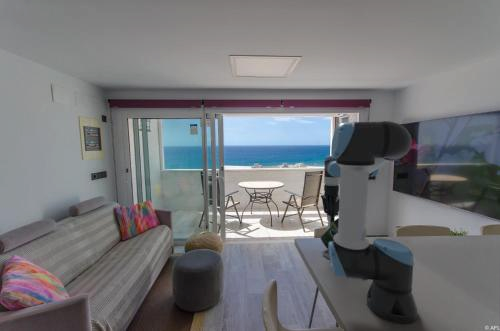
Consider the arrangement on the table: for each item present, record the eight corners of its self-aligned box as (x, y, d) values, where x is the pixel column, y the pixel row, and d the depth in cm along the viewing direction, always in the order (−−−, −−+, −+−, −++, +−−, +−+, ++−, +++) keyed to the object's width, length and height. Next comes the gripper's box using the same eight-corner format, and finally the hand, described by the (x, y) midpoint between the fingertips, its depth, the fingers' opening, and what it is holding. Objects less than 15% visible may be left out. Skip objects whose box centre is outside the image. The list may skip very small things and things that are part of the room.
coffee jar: (338, 248, 125) (358, 229, 114) (328, 252, 121) (347, 233, 110) (327, 233, 131) (345, 214, 120) (317, 236, 127) (335, 216, 116)
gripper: (346, 185, 118) (345, 229, 120) (327, 182, 129) (326, 222, 131) (336, 187, 114) (335, 232, 116) (317, 183, 126) (316, 224, 128)
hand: (330, 226), depth 124 cm, fingers closed
